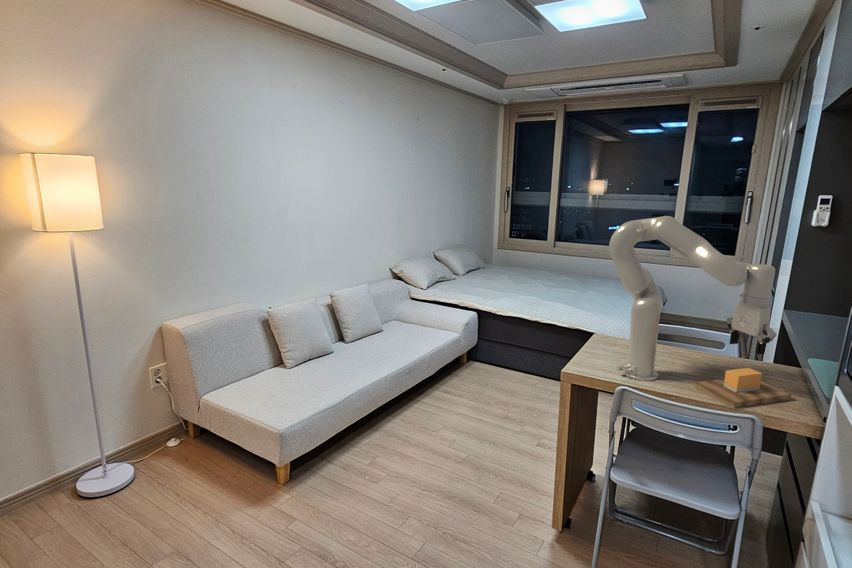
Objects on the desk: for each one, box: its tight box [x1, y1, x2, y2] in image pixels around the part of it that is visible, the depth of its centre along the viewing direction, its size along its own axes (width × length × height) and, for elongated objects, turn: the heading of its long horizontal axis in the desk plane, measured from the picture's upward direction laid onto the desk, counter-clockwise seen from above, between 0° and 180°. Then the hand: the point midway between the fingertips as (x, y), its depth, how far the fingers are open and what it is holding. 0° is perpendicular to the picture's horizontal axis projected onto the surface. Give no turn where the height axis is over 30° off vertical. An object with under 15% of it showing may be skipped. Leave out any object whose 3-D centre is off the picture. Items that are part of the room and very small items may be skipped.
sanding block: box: [724, 367, 763, 393], centre depth 155 cm, size 10×5×6 cm, turn 104°
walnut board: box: [693, 378, 793, 409], centre depth 156 cm, size 24×16×2 cm, turn 104°
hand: (746, 348), depth 153 cm, fingers open, 9 cm apart
